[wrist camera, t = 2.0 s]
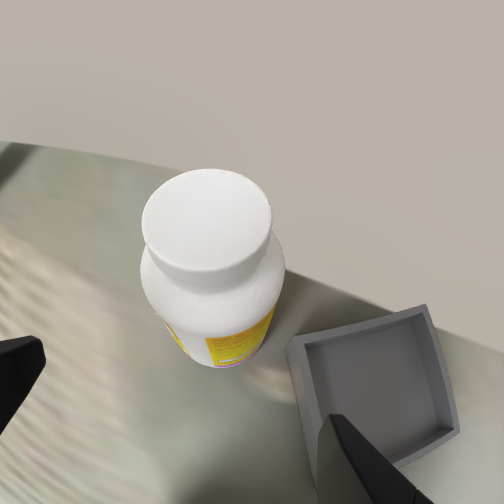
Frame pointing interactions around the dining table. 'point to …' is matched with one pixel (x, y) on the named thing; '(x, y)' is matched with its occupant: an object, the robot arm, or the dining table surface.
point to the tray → (376, 384)
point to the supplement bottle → (212, 264)
